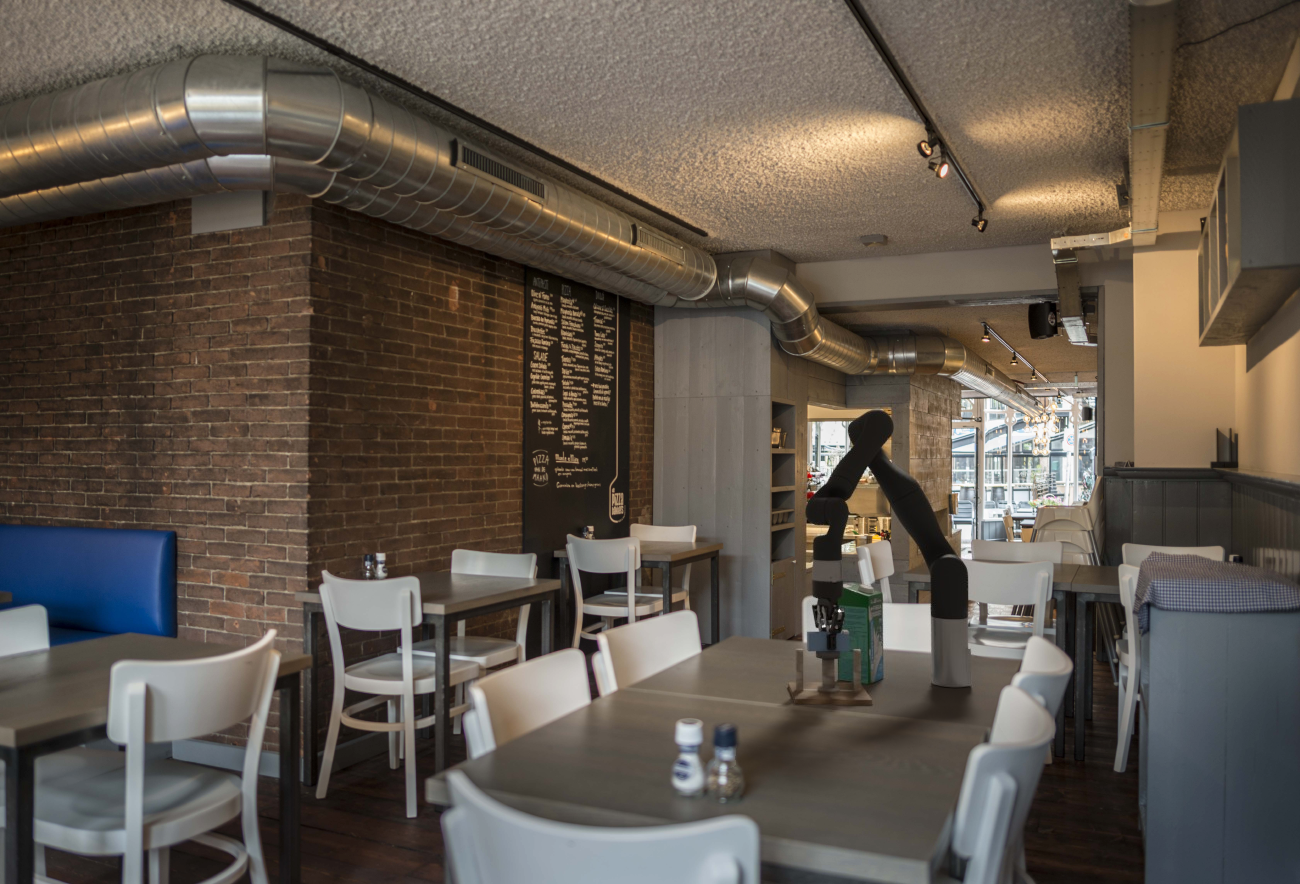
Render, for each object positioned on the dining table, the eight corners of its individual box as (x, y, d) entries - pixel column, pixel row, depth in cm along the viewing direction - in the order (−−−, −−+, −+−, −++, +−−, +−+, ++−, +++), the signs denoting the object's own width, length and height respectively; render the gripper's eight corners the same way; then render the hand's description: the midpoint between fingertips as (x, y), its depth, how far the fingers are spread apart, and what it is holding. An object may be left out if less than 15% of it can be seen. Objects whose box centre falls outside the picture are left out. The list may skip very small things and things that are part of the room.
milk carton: (869, 684, 241) (868, 587, 242) (837, 679, 246) (836, 584, 247) (883, 678, 248) (882, 583, 249) (852, 673, 254) (851, 581, 254)
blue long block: (805, 654, 232) (805, 628, 233) (846, 654, 232) (845, 628, 232) (809, 659, 226) (809, 632, 227) (851, 659, 226) (850, 632, 226)
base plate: (859, 687, 237) (859, 643, 238) (872, 704, 219) (871, 656, 220) (788, 686, 238) (787, 642, 239) (795, 704, 220) (794, 656, 221)
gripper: (801, 575, 236) (802, 644, 235) (826, 581, 222) (827, 654, 222) (828, 574, 238) (829, 642, 237) (854, 580, 224) (855, 653, 224)
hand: (828, 648), depth 229 cm, fingers closed on blue long block, 3 cm apart
